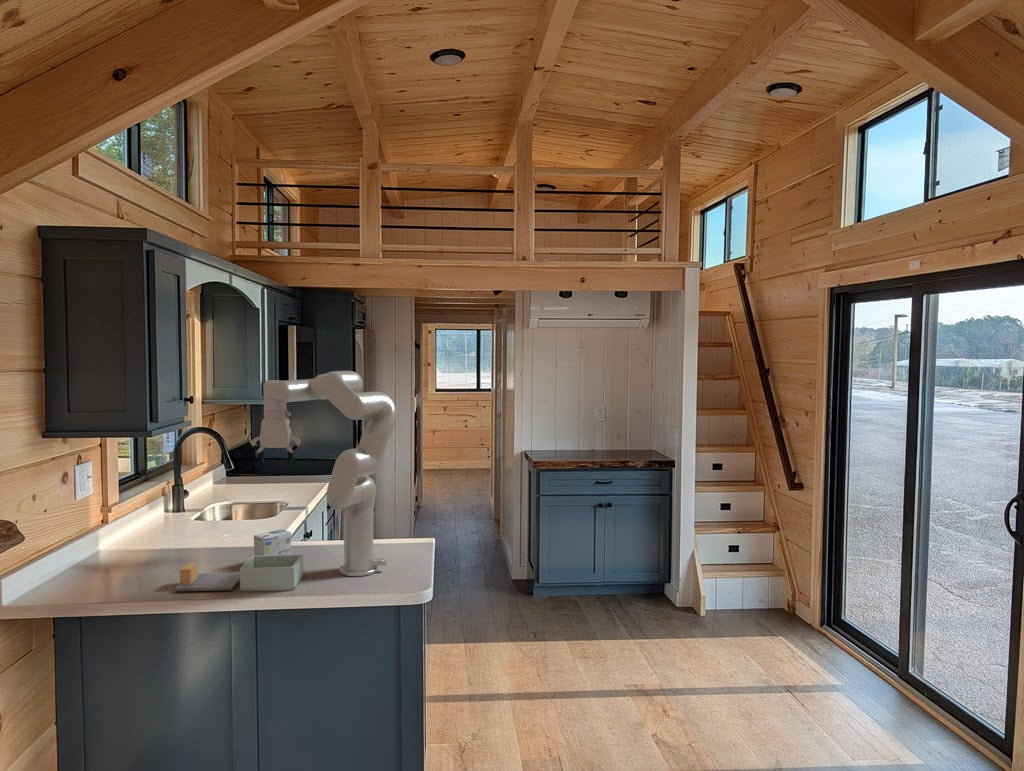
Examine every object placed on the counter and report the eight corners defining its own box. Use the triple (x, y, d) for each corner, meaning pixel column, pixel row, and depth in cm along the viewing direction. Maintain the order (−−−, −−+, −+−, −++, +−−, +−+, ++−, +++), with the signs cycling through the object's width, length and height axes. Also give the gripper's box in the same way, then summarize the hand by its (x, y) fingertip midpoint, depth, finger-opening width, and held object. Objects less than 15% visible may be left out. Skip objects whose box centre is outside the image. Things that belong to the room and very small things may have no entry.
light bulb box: (281, 558, 243) (281, 528, 242) (292, 562, 238) (292, 531, 238) (253, 566, 234) (252, 534, 234) (264, 570, 230) (263, 538, 229)
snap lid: (245, 578, 223) (244, 559, 222) (231, 593, 209) (231, 572, 209) (191, 579, 221) (191, 559, 221) (174, 594, 208) (174, 573, 207)
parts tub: (303, 578, 224) (303, 554, 224) (294, 592, 211) (294, 567, 211) (252, 579, 223) (252, 555, 222) (240, 594, 210) (239, 568, 209)
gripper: (302, 414, 249) (303, 461, 250) (252, 414, 247) (253, 462, 248) (298, 416, 241) (299, 465, 242) (247, 416, 240) (247, 465, 240)
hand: (276, 463), depth 245 cm, fingers open, 9 cm apart
